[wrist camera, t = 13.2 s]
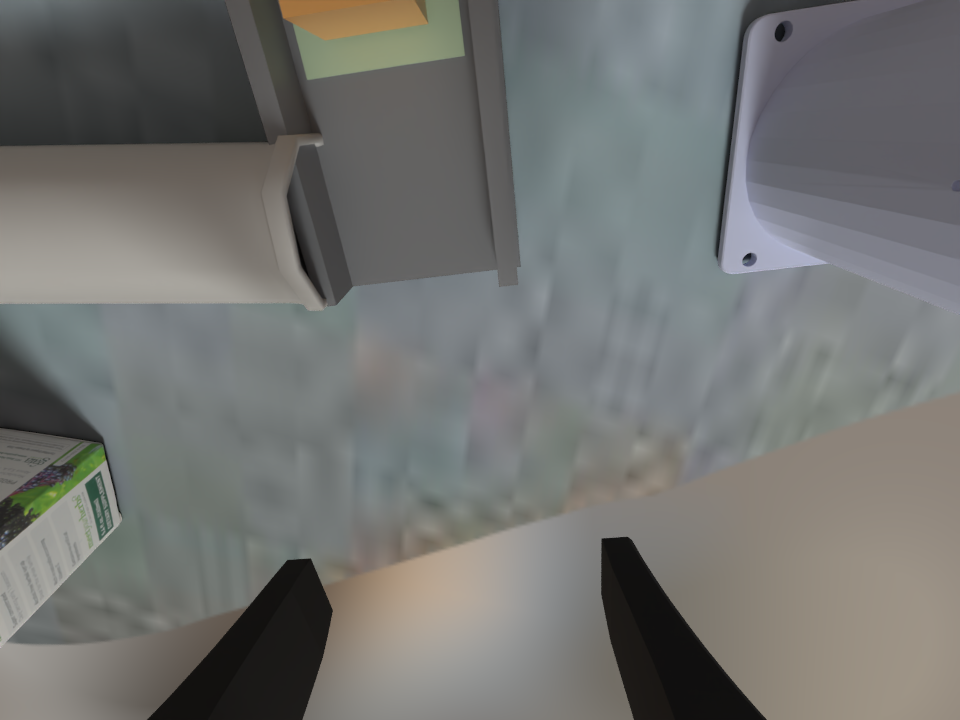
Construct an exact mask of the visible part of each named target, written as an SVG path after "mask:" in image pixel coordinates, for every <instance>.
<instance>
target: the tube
mask: <svg viewBox="0 0 960 720" xmlns="http://www.w3.org/2000/svg"><path fill="white" fill-rule="evenodd" d="M309 144H315V146H316V147H319V146H322V145H324V144H323V137H322V135H321V134H320V133H309V134H297V135H283V136H278V137H277V140H276V142H275V144H272V145H269V144H268V142H224V143H159V144H94V145H29V146H0V304H114V303H297V304H303V305H304V306H305V307H306V308H307V310H308V311H322V310H323V309H325V307H326V306H327V305H328V303H327V299H323V298H321V296H320V295H319V293H318V292H317V290H316V288H315V287H314V285H313V284H312V282H311V281H310V277H309V274H308V271H307V267H306V264H305V261H304V258H303V254H302V251H301V248H300V245H299V241H298V238H297V235H296V232H295V228H294V225H293V222H292V219H291V215H290V210H289V205H288V200H287V192H288V188H289V185H290V181H291V177H292V173H293V169H294V165H295V162H296V158H297V154H298V150H299V146H302V145H309Z"/></svg>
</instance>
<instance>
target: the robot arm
mask: <svg viewBox="0 0 960 720" xmlns="http://www.w3.org/2000/svg"><path fill="white" fill-rule="evenodd" d="M779 24H783V26H784V27H785V35H784V38H783V39H782V40H781V41H780V42H778V41H777V40H776V39H775V34H774V33H775V30H776V27H777V26H778V25H779ZM748 253H751V259H750V260H749V261H748V262H747V263H745V264H742V260H743V257H744V256H745V255H746V254H748ZM827 263H830V264H832V265H835V266H837V267H840V268H842V269H845V270H847V271H850V272H852V273H855V274H858V275H860V276H863V277H865V278H868V279H870V280H873V281H875V282H878V283H880V284H883V285H885V286H888V287H890V288H893V289H895V290H898V291H900V292H903V293H905V294H908V295H910V296H913V297H915V298H918V299H920V300H923V301H925V302H928V303H930V304H933V305H935V306H938V307H940V308H943V309H945V310H948V311H950V312H953V313H955V314H958V315H960V0H856V1H850V2H843V3H837V4H830V5H824V6H817V7H811V8H804V9H797V10H791V11H784V12H778V13H771V14H767V15H764V16H762V17H759V18H757V19H755V20H754V21H753V22H752V23H751V24H750V25H749V27H748V28H747V30H746V32H745V35H744V39H743V48H742V56H741V65H740V73H739V82H738V90H737V99H736V108H735V116H734V125H733V133H732V142H731V150H730V159H729V167H728V176H727V184H726V193H725V202H724V210H723V219H722V227H721V236H720V244H719V253H718V266H719V268H720V269H721V270H723V271H724V272H726V273H728V274H737V273H746V272H755V271H764V270H773V269H782V268H791V267H800V266H809V265H818V264H827ZM601 557H602V559H601V562H602V563H601V564H602V565H601V568H602V570H601V571H602V572H601V586H602V587H601V595H602V600H603V605H604V610H605V615H606V620H607V625H608V630H609V635H610V640H611V644H612V647H613V651H614V654H615V657H616V661H617V664H618V667H619V671H620V674H621V678H622V681H623V684H624V688H625V691H626V694H627V698H628V701H629V704H630V708H631V711H632V714H633V718H634V720H766V718H765V717H764V716H763V715H762V714H761V713H760V712H759V711H758V710H757V709H756V707H755V706H754V705H753V704H752V703H751V702H750V701H749V700H748V698H747V697H746V696H745V695H744V694H743V692H742V691H741V690H740V689H739V688H738V687H737V685H736V684H735V683H734V682H733V681H732V679H731V678H730V677H729V676H728V675H727V674H726V672H725V671H724V670H723V669H722V667H721V666H720V665H719V664H718V662H717V661H716V660H715V659H714V657H713V656H712V655H711V654H710V653H709V651H708V650H707V649H706V648H705V647H704V645H703V644H702V642H701V641H700V640H699V638H698V637H697V636H696V635H695V633H694V632H693V631H692V629H691V628H690V627H689V625H688V624H687V623H686V621H685V620H684V618H683V617H682V616H681V614H680V613H679V612H678V610H677V609H676V608H675V606H674V605H673V603H672V602H671V601H670V599H669V598H668V596H667V595H666V594H665V592H664V591H663V589H662V588H661V586H660V585H659V583H658V582H657V580H656V579H655V577H654V576H653V574H652V573H651V571H650V569H649V568H648V566H647V565H646V563H645V562H644V560H643V558H642V557H641V555H640V553H639V552H638V550H637V548H636V546H635V545H634V543H633V541H632V540H631V539H630V538H628V537H619V538H604V539H602V554H601ZM332 612H333V610H332V608H331V605H330V603H329V600H328V598H327V596H326V593H325V591H324V589H323V586H322V584H321V581H320V579H319V577H318V574H317V572H316V570H315V567H314V565H313V563H312V560H311V559H296V560H287V561H286V562H285V564H284V565H283V566H282V567H281V568H280V570H279V571H278V572H277V573H276V574H275V575H274V577H273V578H272V579H271V580H270V581H269V583H268V584H267V585H266V586H265V587H264V589H263V590H262V591H261V592H260V594H259V595H258V596H257V597H256V598H255V600H254V601H253V602H252V603H251V604H250V606H249V607H248V608H247V609H246V610H245V612H244V613H243V614H242V615H241V616H240V618H239V619H238V620H237V621H236V623H234V625H233V626H232V627H231V628H230V629H229V631H228V632H227V633H226V634H225V635H224V636H223V638H222V639H221V640H220V641H219V642H218V643H217V645H216V646H215V647H214V648H213V649H212V650H211V651H210V653H209V654H208V655H207V656H206V657H205V658H204V659H203V661H202V662H201V663H200V664H199V665H198V666H197V667H196V668H195V669H194V670H193V671H192V673H191V674H190V675H189V676H188V677H187V678H186V679H185V681H183V682H182V684H181V685H180V686H179V687H178V688H177V689H176V690H175V691H174V693H172V695H171V696H170V697H169V698H168V699H167V700H166V701H165V702H164V703H163V704H162V705H161V706H160V707H159V708H158V709H157V710H156V711H155V712H154V713H153V714H152V715H151V717H149V718H148V719H147V720H302V719H303V716H304V713H305V710H306V707H307V704H308V701H309V698H310V695H311V692H312V689H313V686H314V683H315V680H316V677H317V674H318V671H319V667H320V664H321V661H322V658H323V654H324V649H325V645H326V641H327V637H328V632H329V627H330V621H331V617H332Z"/></svg>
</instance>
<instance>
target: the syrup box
mask: <svg viewBox="0 0 960 720" xmlns="http://www.w3.org/2000/svg"><path fill="white" fill-rule="evenodd" d="M121 521H122V517H121V514H120V513H119V512H118V508H117V503H116V497H115V493H114V489H113V485H112V481H111V477H110V473H109V468H108V465H107V461H106V457H105V451H104V447H103V444H102V443H98V442H91V441H85V440H79V439H72V438H66V437H59V436H53V435H46V434H39V433H33V432H25V431H18V430H11V429H3V428H0V648H1V647H2V646H3V645H4V644H5V643H6V642H7V641H8V639H9V638H10V637H11V636H12V635H13V634H14V633H15V632H16V631H17V630H18V629H19V628H20V627H21V626H22V625H23V624H24V623H25V622H26V621H27V620H28V619H29V618H30V617H31V616H32V615H33V614H34V612H35V611H36V610H37V609H38V608H39V607H40V606H41V605H42V604H43V603H44V602H45V601H46V600H47V599H48V598H49V597H50V596H51V595H52V594H53V593H54V592H55V591H56V590H57V588H58V587H59V586H60V585H61V584H62V583H63V582H64V581H65V580H66V579H67V578H68V577H69V576H70V575H71V574H72V573H73V572H74V571H75V570H76V569H77V568H78V567H79V566H80V565H81V563H82V562H83V561H84V560H85V559H86V558H87V557H88V556H89V555H90V554H91V553H92V552H93V551H94V550H95V549H96V548H97V547H98V546H99V545H100V544H101V543H102V542H103V541H104V540H105V539H106V538H107V537H108V536H109V535H110V534H111V533H112V531H113V530H114V529H115V528H116V527H117V526H118V525H119V524H120V522H121Z"/></svg>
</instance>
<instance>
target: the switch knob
mask: <svg viewBox="0 0 960 720" xmlns="http://www.w3.org/2000/svg"><path fill="white" fill-rule="evenodd" d="M279 4H280V8H281V11H282V15H283V18H284V19H286V20H288V21H289V22H291V23H293V24H295V25H297V26H299V27H301V28H303V29H304V30H306V31H308V32H310V33H312V34H314V35H316V36H318V37H319V38H321V39H323V40H331V39H337V38H343V37H350V36H356V35H362V34H368V33H375V32H381V31H387V30H393V29H400V28H406V27H412V26H418V25H424V24H428V18H427V11H426V4H425V0H279Z"/></svg>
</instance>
